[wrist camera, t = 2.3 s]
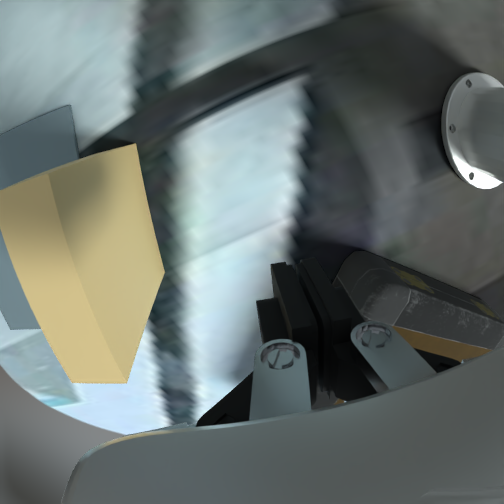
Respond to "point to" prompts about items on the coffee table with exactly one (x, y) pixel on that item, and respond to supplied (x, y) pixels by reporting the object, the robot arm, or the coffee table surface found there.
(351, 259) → the cash box
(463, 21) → the coffee table surface
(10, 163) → the mat
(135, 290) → the pale yellow block
